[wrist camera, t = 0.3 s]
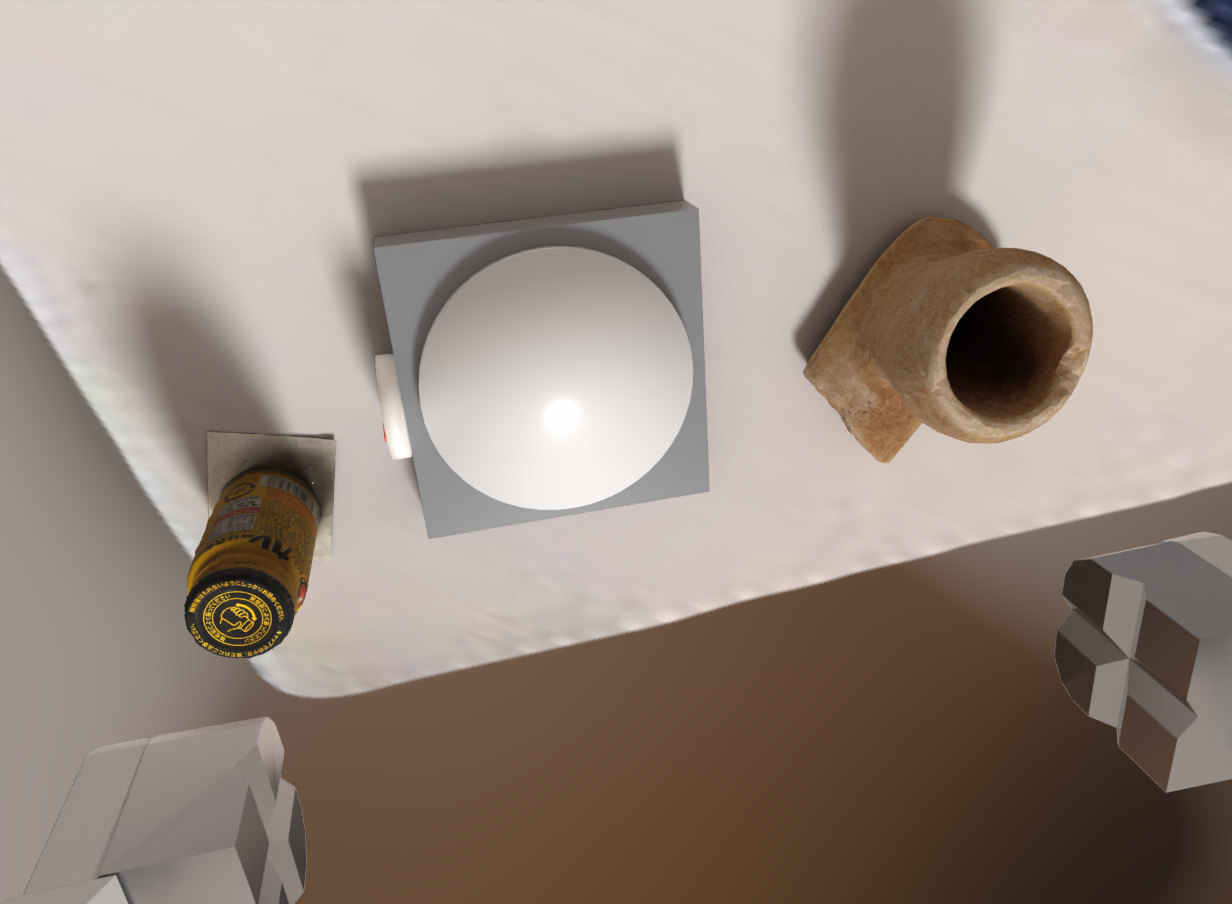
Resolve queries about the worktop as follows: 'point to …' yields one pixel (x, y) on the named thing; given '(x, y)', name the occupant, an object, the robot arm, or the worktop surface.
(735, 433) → the worktop surface
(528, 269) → the scale
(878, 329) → the stone cup
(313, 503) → the condiment
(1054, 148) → the worktop surface
